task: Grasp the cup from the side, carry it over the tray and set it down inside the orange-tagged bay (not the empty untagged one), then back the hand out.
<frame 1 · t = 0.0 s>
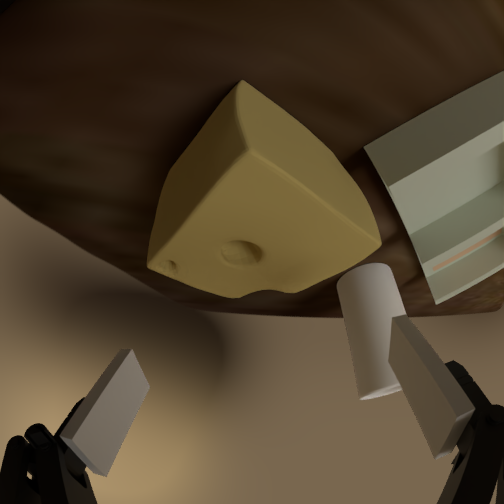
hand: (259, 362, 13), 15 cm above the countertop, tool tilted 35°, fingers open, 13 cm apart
tray: (467, 197, 25), on the countertop
cup: (363, 278, 37), on the countertop
cheese: (251, 155, 22), on the countertop
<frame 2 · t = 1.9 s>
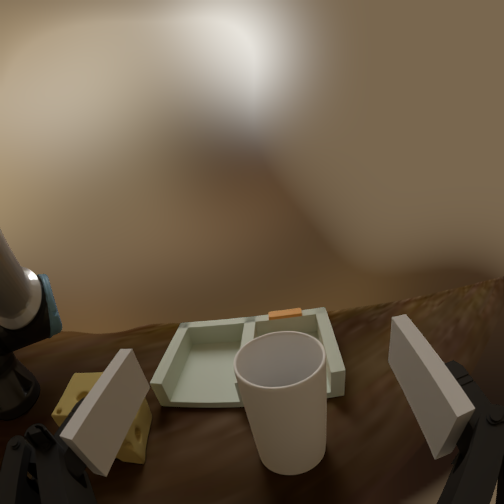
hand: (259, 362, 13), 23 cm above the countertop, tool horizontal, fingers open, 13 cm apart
tray: (252, 368, 45), on the countertop
cup: (292, 449, 28), on the countertop
cheese: (120, 438, 32), on the countertop
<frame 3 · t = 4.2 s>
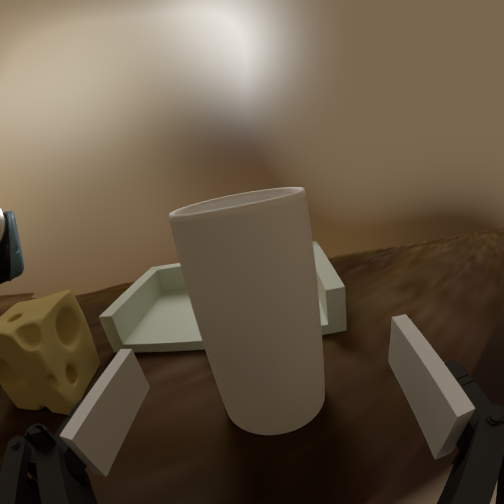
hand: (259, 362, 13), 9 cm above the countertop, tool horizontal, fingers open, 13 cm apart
tray: (228, 310, 38), on the countertop
cup: (275, 399, 21), on the countertop
cheese: (59, 387, 24), on the countertop
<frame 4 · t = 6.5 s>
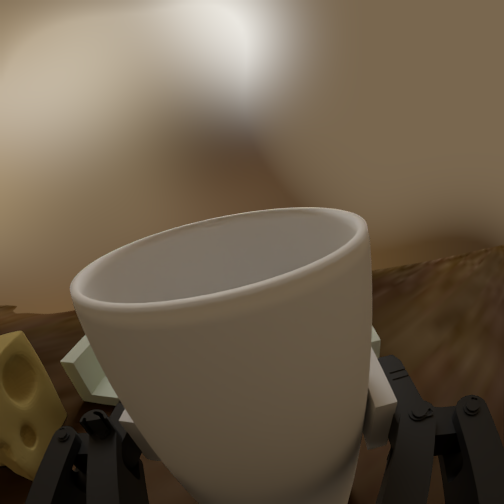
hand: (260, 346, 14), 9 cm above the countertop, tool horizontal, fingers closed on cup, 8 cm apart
tray: (222, 351, 29), on the countertop
cup: (281, 496, 12), on the countertop, touching gripper
cheese: (23, 440, 15), on the countertop
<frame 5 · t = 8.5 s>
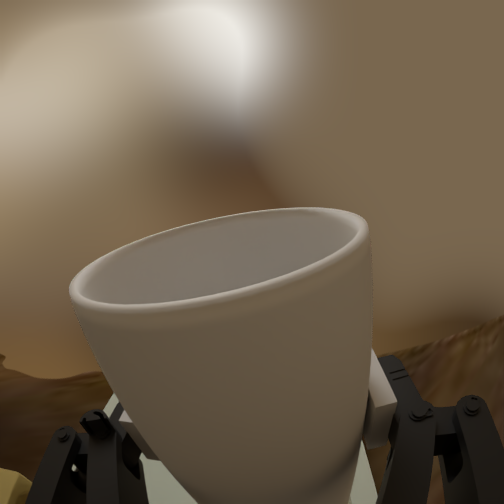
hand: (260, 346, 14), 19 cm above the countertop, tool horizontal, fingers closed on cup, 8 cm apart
tray: (220, 469, 23), on the countertop
cup: (281, 497, 12), point 9 cm above the countertop, touching gripper
when the fingers open (12 cm above the countertop, at t = 10.7 s): cup drops 2 cm, resting on tray.
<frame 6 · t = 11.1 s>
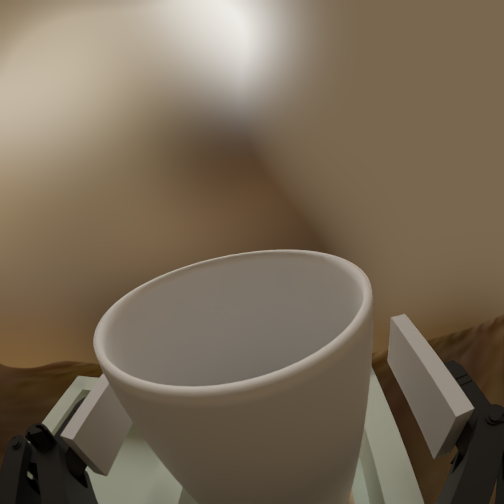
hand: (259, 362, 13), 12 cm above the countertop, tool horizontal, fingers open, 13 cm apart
tray: (198, 497, 15), on the countertop
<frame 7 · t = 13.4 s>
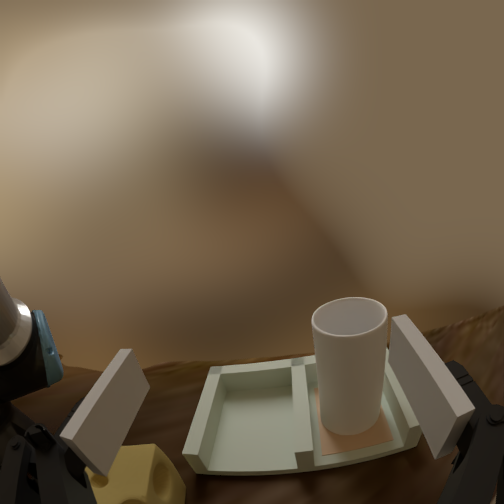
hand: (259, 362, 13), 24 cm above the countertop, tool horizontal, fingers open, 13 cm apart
tray: (303, 421, 34), on the countertop
cup: (350, 413, 32), point 1 cm above the countertop, touching tray
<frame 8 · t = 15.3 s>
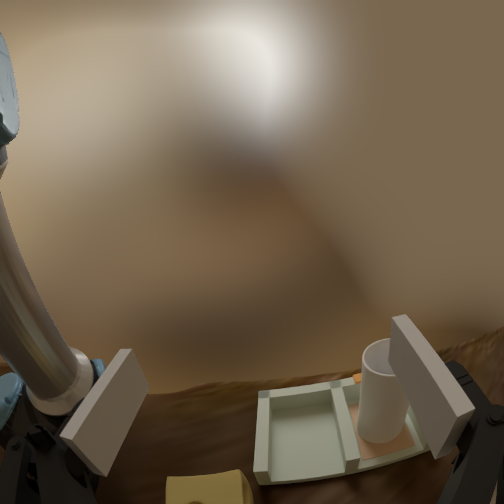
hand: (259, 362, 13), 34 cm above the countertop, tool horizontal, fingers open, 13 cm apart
tray: (342, 433, 39), on the countertop
cup: (380, 425, 37), point 1 cm above the countertop, touching tray
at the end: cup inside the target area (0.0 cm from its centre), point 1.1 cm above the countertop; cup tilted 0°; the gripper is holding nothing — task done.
